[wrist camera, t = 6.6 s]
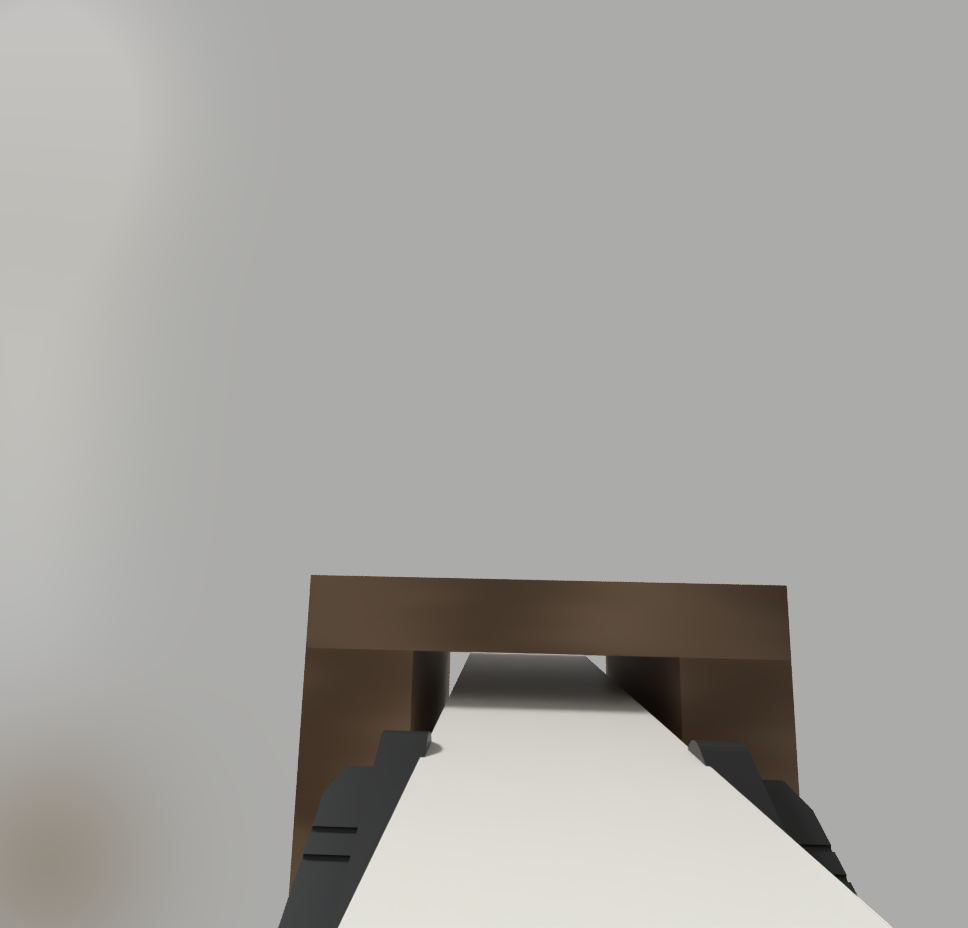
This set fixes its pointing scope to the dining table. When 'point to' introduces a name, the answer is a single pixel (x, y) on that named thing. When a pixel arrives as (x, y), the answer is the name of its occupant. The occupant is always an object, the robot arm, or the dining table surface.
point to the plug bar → (580, 821)
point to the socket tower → (539, 630)
